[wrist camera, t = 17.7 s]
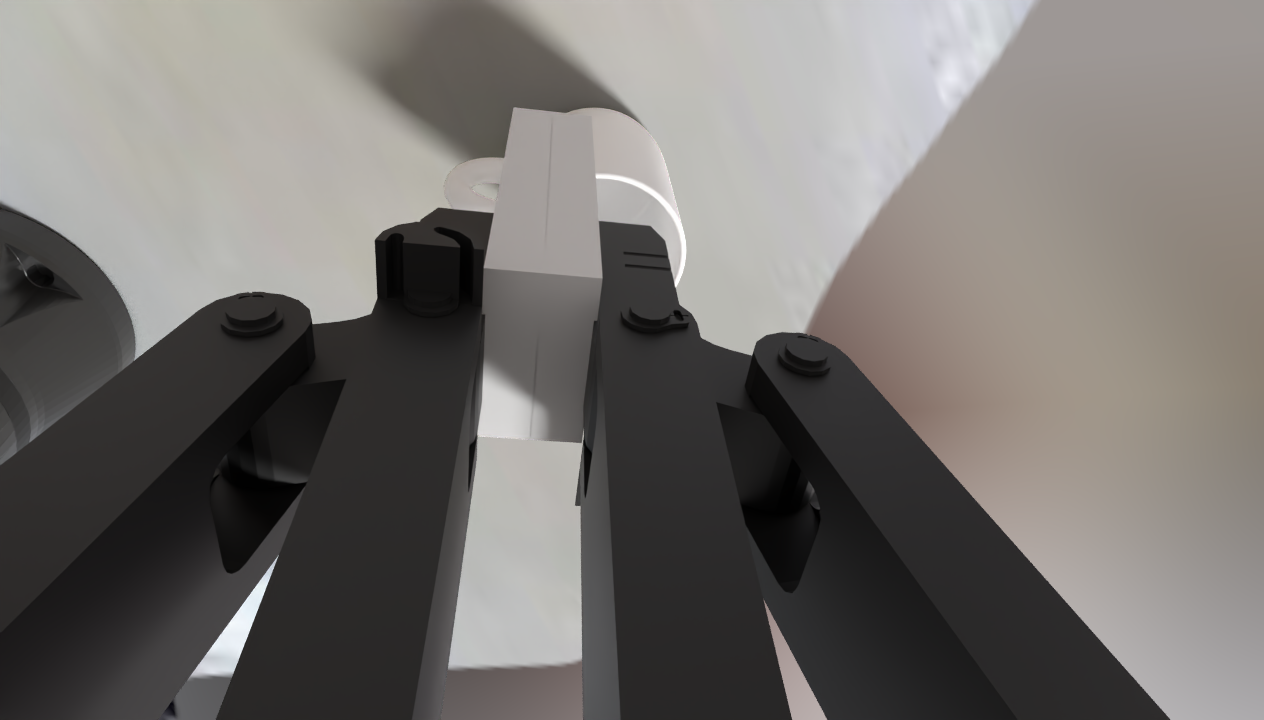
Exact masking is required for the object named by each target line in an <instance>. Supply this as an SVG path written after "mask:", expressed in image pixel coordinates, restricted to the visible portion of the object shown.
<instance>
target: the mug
mask: <svg viewBox="0 0 1264 720" xmlns="http://www.w3.org/2000/svg"><path fill="white" fill-rule="evenodd" d="M567 113H569V114H578V115H587V116H592V130H593V145H594V160H595V174H596V189H597V203H598V218H599V221H606V222H617V223H627V224H637V225H648V226H651V227H652V228H653V229H654V230H655V231H656V232H657V233H658V234H659V235H660V236H661V237H662V238H663V239H664V240H665V242H666V246H667V251H668V259H669V260H670V265H671V271H672V274H673V278H674V283H675V287H676V285H677V284H678V282H679V280H680V277H681V275H682V272H683V268H684V264H685V258H686V241H685V236H684V231H683V227H682V223H681V219H680V216H679V212H678V208H677V204H676V201H675V197H674V193H673V189H672V186H671V182H670V178H669V174H668V170H667V167H666V164H665V161H664V158H663V155H662V153H661V151H660V149H659V147H658V145H657V143H656V141H655V140H654V138H653V137H652V136H651V134H650V133H649V132H648V131H647V130H646V129H645V128H644V127H643V126H642V125H641V124H639V123H638V122H637V121H635V120H634V119H632V118H631V117H629V116H627V115H625V114H623V113H620V112H617V111H614V110H611V109H605V108H582V109H577V110H573V111H570V112H567ZM503 162H504V158H496V157H490V158H478V159H473V160H469V161H467V162H464V163H461V164H459V165H458V166H456V167H455V168H454V169H453V170H452V171H451V172H450V173H449V174H448V176H447V177H446V180H445V184H444V192H445V197H446V199H447V201H448V203H449V205H450V206H451V208H452V209H458V210H468V211H478V212H489V213H494V210H495V205H496V200H494V199H490V198H487V197H485V196H482V195H480V194H478V193H476V192H474V191H473V190H472V189H471V188H472V187H473V186H476V185H479V184H487V183H494V184H499V183H500V178H501V172H502V167H503Z"/></svg>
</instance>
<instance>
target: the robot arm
mask: <svg viewBox="0 0 1264 720" xmlns="http://www.w3.org/2000/svg"><path fill="white" fill-rule="evenodd" d="M375 254H376V275H377V297H378V298H377V301H376V304H375V306H374V309H373V311H372V314H370V315H367V316H364V317H360V318H357V319H353V320H347V321H341V322H332V323H322V324H312V319H311V314H310V309H308V308H307V307H306V306H305V305H304V304H303V303H301V302H300V301H299V300H296V299H293V298H290V297H288V296H285V295H281V294H271V293H265V292H252V293H249V292H247V293H240V294H236V295H234V296H230V297H226V298H223V299H219V300H216V301H214V302H213V303H211V304H209V305H207V306H205V307H203V308H202V309H200V310H199V311H197V312H196V313H195V314H194V315H192V316H191V317H190V318H188V319H187V320H186V321H185V322H183V323H182V324H181V325H179V326H178V327H177V328H176V329H174V330H173V331H172V332H171V333H169V334H168V335H167V336H165V337H164V338H163V339H162V340H160V341H159V342H158V343H156V344H155V345H154V346H153V347H151V348H150V349H149V350H147V351H146V352H145V353H144V354H142V355H141V356H140V357H138V358H137V359H136V360H135V361H134V357H135V334H134V329H133V325H132V321H131V318H130V315H129V313H128V310H127V308H126V306H125V304H124V302H123V300H122V298H121V297H120V295H119V293H118V292H117V290H116V289H115V287H114V286H113V285H112V283H111V282H110V281H109V279H108V278H107V277H106V276H105V275H104V273H103V272H102V271H101V270H100V269H99V268H98V267H97V266H96V265H95V264H94V263H93V262H92V261H91V260H90V259H89V258H88V257H87V256H86V255H84V254H83V253H82V252H81V251H80V250H78V249H77V248H76V247H74V246H73V245H72V244H70V243H69V242H68V241H66V240H65V239H63V238H62V237H60V236H59V235H57V234H55V233H54V232H52V231H50V230H49V229H47V228H45V227H43V226H41V225H39V224H37V223H35V222H33V221H31V220H29V219H27V218H24V217H22V216H19V215H17V214H14V213H11V212H9V211H6V210H2V209H0V720H158V719H159V718H160V716H161V715H162V714H163V712H164V711H165V710H166V708H167V707H168V706H169V704H170V703H171V701H172V700H173V699H174V697H175V696H176V695H177V693H178V692H179V690H180V689H181V688H182V686H183V685H184V684H185V682H186V681H187V680H188V678H189V677H190V675H191V674H192V673H193V671H194V670H195V669H196V667H197V666H198V664H199V663H200V662H201V660H202V659H203V658H204V656H205V655H206V654H207V652H208V651H209V649H210V648H211V647H212V645H213V644H214V643H215V641H216V640H217V638H218V637H219V636H220V634H221V633H222V632H223V630H224V629H225V628H226V626H227V625H228V623H229V622H230V621H231V619H232V618H233V617H234V615H235V614H236V613H237V611H238V610H239V608H240V607H241V606H242V604H243V603H244V602H245V600H246V599H247V597H248V596H249V595H250V593H251V592H252V591H253V589H254V588H255V587H256V585H257V584H258V582H259V581H260V580H261V578H262V577H263V576H264V574H265V573H266V571H267V570H268V569H269V567H270V566H271V565H272V563H273V562H274V561H275V559H276V558H277V556H278V555H279V556H278V559H277V562H276V564H275V567H274V569H273V572H272V575H271V577H270V580H269V582H268V585H267V588H266V590H265V593H264V596H263V598H262V601H261V603H260V606H259V609H258V611H257V614H256V616H255V619H254V622H253V624H252V627H251V629H250V632H249V635H248V637H247V640H246V642H245V645H244V648H243V650H242V653H241V655H240V658H239V661H238V663H237V666H236V669H235V671H234V674H233V676H232V679H231V682H230V684H229V687H228V690H227V692H226V695H225V697H224V700H223V702H222V705H221V708H220V710H219V713H218V715H217V718H216V720H441V713H442V706H443V699H444V691H445V684H446V677H447V670H448V663H449V655H450V648H451V641H452V634H453V626H454V619H455V612H456V605H457V597H458V590H459V583H460V576H461V569H462V561H463V554H464V547H465V540H466V532H467V525H468V518H469V511H470V504H471V496H472V489H473V482H474V475H475V467H476V460H477V432H478V436H479V437H495V438H512V439H528V440H544V441H560V442H576V443H582V436H583V428H584V440H583V448H582V455H581V463H580V471H579V479H578V487H577V494H576V502H575V506H581V586H582V672H583V673H582V676H583V677H582V678H583V720H792V717H791V713H790V709H789V705H788V701H787V696H786V692H785V688H784V684H783V680H782V675H781V671H780V667H779V664H778V659H777V655H776V650H775V647H774V642H773V638H772V634H771V629H770V625H769V621H768V617H767V613H766V609H765V604H764V600H765V603H766V604H767V606H768V608H769V610H770V612H771V614H772V616H773V618H774V620H775V621H776V623H777V625H778V627H779V629H780V631H781V633H782V635H783V636H784V638H785V640H786V642H787V644H788V646H789V648H790V650H791V652H792V653H793V655H794V657H795V659H796V661H797V663H798V665H799V667H800V669H801V671H802V672H803V674H804V676H805V678H806V680H807V682H808V684H809V686H810V688H811V689H812V691H813V693H814V695H815V697H816V699H817V701H818V703H819V705H820V706H821V708H822V710H823V712H824V714H825V716H826V718H827V720H1170V719H1169V718H1168V716H1167V715H1166V714H1165V713H1164V712H1163V711H1162V710H1161V709H1160V708H1159V706H1158V705H1157V704H1156V703H1155V702H1154V701H1153V700H1152V699H1151V697H1150V696H1149V695H1148V694H1147V693H1146V692H1145V691H1144V689H1143V688H1142V687H1141V686H1140V685H1139V684H1138V683H1137V682H1136V680H1135V679H1134V678H1133V677H1132V676H1131V675H1130V674H1129V673H1128V671H1127V670H1126V669H1125V668H1124V667H1123V666H1122V665H1121V664H1120V662H1119V661H1118V660H1117V659H1116V658H1115V657H1114V656H1113V655H1112V653H1111V652H1110V651H1109V650H1108V649H1107V648H1106V647H1105V646H1104V645H1103V643H1102V642H1101V641H1100V640H1099V639H1098V638H1097V637H1096V635H1095V634H1094V633H1093V632H1092V631H1091V630H1090V629H1089V627H1088V626H1087V625H1086V624H1085V623H1084V622H1083V621H1082V620H1081V619H1080V617H1079V616H1078V615H1077V614H1076V613H1075V612H1074V611H1073V609H1072V608H1071V607H1070V606H1069V605H1068V604H1067V603H1066V602H1065V600H1064V599H1063V598H1062V597H1061V596H1060V595H1059V594H1058V593H1057V592H1056V590H1055V589H1054V588H1053V587H1052V586H1051V585H1050V584H1049V582H1048V581H1047V580H1046V579H1045V578H1044V577H1043V576H1042V575H1041V573H1040V572H1039V571H1038V570H1037V569H1036V568H1035V567H1034V566H1033V564H1032V563H1031V562H1030V561H1029V560H1028V559H1027V558H1026V557H1025V556H1024V554H1023V553H1022V552H1021V551H1020V550H1019V549H1018V548H1017V546H1016V545H1015V544H1014V543H1013V542H1012V541H1011V540H1010V539H1009V537H1008V536H1007V535H1006V534H1005V533H1004V532H1003V531H1002V530H1001V528H1000V527H999V526H998V525H997V524H996V523H995V522H994V520H993V519H992V518H991V517H990V516H989V515H988V514H987V513H986V512H985V511H984V509H983V508H982V507H981V506H980V505H979V504H978V503H977V501H976V500H975V499H974V498H973V497H972V496H971V495H970V493H969V492H968V491H967V490H966V489H965V488H964V487H963V486H962V484H960V482H959V481H958V480H957V479H956V478H955V477H954V475H953V474H952V473H951V472H950V471H949V470H948V469H947V468H946V466H945V465H944V464H943V463H942V462H941V461H940V460H939V459H938V457H937V456H936V455H935V454H934V453H933V452H932V451H931V450H930V448H929V447H928V446H927V445H926V444H925V443H924V442H923V441H922V439H920V437H919V436H918V435H917V434H916V433H915V431H913V429H912V428H911V427H910V426H909V425H908V424H907V422H906V421H905V420H904V419H903V418H902V417H901V416H900V415H899V414H898V412H897V411H896V410H895V409H894V408H893V407H892V406H891V405H890V403H889V402H888V401H887V400H886V399H885V398H884V397H883V395H882V394H881V393H880V392H879V391H878V390H877V389H876V388H875V386H874V385H873V384H872V383H871V382H870V381H869V380H868V379H867V377H866V376H865V375H864V374H863V373H862V372H861V371H860V370H859V369H858V367H857V366H856V365H855V364H854V363H853V362H852V361H851V359H850V358H849V357H848V356H846V355H845V354H844V353H843V352H842V351H841V350H839V349H838V348H837V347H836V346H834V345H832V344H829V343H827V342H825V341H823V340H821V339H820V338H818V337H815V336H812V335H810V336H808V335H807V334H803V333H785V332H781V333H776V334H770V335H766V336H765V337H763V338H762V339H760V340H759V341H757V342H756V345H755V348H754V351H753V355H752V356H751V355H747V354H743V353H739V352H736V351H732V350H728V349H725V348H722V347H719V346H716V345H714V344H712V343H710V342H708V341H706V340H704V339H702V338H701V337H700V333H699V329H698V325H697V322H696V321H695V319H694V317H693V316H692V314H691V313H690V312H688V311H687V310H686V309H684V308H683V307H682V306H680V305H679V301H678V297H677V292H676V288H675V283H674V278H673V274H672V271H671V265H670V260H669V259H668V251H667V246H666V242H665V240H664V239H663V238H662V237H661V236H660V235H659V234H658V233H657V232H656V231H655V230H654V229H653V228H652V227H651V226H648V225H637V224H627V223H617V222H606V221H599V218H598V203H597V189H596V174H595V160H594V145H593V130H592V116H587V115H578V114H569V113H560V112H551V111H543V110H534V109H525V108H516V107H514V108H513V113H512V119H511V124H510V130H509V135H508V140H507V146H506V151H505V156H504V162H503V167H502V172H501V178H500V183H499V189H498V194H497V199H496V205H495V210H494V213H489V212H478V211H468V210H458V209H447V208H437V209H436V210H434V211H433V212H431V213H430V214H428V215H427V216H426V217H424V218H423V219H421V221H420V222H413V223H407V224H401V225H397V226H394V227H392V228H390V229H387V230H385V231H383V232H382V233H381V234H380V235H379V236H378V237H377V238H376V239H375ZM763 599H764V600H763Z"/></svg>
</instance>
